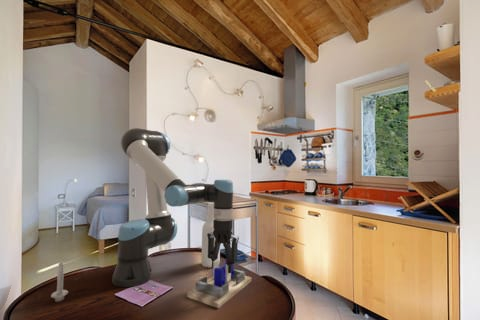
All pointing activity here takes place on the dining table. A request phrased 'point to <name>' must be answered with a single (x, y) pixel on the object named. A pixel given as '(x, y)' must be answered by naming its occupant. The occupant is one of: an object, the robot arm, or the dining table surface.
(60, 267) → the screw
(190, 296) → the board
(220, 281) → the cable clip
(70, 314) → the dining table surface
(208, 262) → the alcohol
